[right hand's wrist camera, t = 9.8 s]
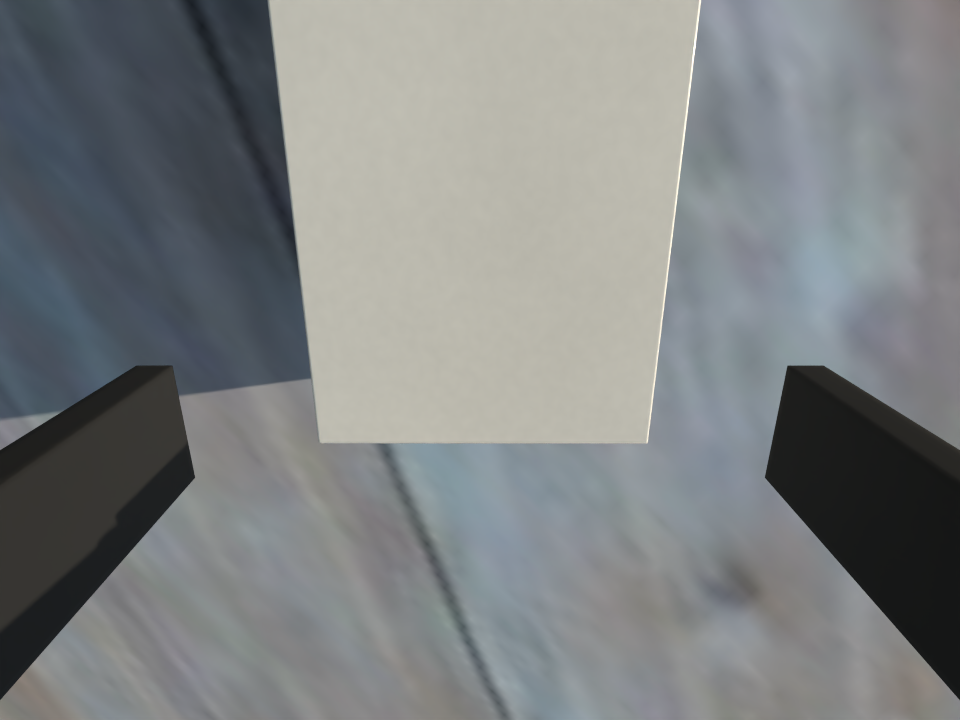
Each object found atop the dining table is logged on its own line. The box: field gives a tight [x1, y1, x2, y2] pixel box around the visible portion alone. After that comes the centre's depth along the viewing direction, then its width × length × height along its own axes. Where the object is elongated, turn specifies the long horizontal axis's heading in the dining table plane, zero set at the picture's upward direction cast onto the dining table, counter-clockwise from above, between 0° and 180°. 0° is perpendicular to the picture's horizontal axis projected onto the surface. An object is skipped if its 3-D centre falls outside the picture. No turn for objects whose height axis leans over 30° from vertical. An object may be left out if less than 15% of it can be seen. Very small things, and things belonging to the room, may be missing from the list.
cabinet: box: [268, 0, 701, 444], centre depth 19 cm, size 21×11×10 cm, turn 0°
